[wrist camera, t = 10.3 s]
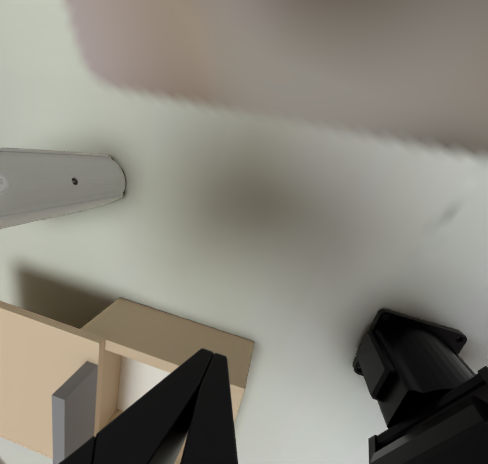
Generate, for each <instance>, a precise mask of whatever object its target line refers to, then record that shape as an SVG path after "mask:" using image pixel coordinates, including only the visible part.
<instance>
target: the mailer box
mask: <svg viewBox="0 0 488 464" xmlns="http://www.w3.org/2000/svg"><path fill="white" fill-rule="evenodd" d="M81 330H84V331H87V332H90V333H92V334H95V335H98V336H101V337H104V338H105V346H104V361H103V376H102V391H101V406H100V421H99V431H100V430H101V429H102V428H104V427H105V426H106V425H107V424H109V423H110V422H111V421H112V420H114V419H115V418H116V417H117V416H118V415H120V414H121V413H122V412H123V411H125V410H126V409H127V408H128V407H130V406H131V405H132V404H133V403H134V402H136V401H137V400H138V399H139V398H141V397H142V396H143V395H144V394H145V393H147V392H148V391H149V390H150V389H152V388H153V387H154V386H155V385H157V384H158V383H159V382H160V381H161V380H163V379H164V378H165V377H166V376H168V375H169V374H170V373H171V372H173V371H174V370H175V369H176V368H177V367H179V366H180V365H181V364H182V363H184V362H185V361H186V360H187V359H189V358H190V357H191V356H192V355H193V354H195V353H196V352H197V351H198V350H200V349H201V348H205V349H207V350H210V351H213V353H219V354H222V355H225V356H226V357H227V360H228V369H229V379H230V389H231V399H232V409H233V419H234V422H235V419H236V416H237V413H238V409H239V406H240V403H241V400H242V397H243V394H244V390H245V386H246V381H247V376H248V371H249V366H250V361H251V356H252V351H253V346H254V342H253V341H250V340H247V339H244V338H241V337H238V336H235V335H232V334H229V333H226V332H223V331H220V330H217V329H214V328H211V327H208V326H204V325H201V324H198V323H195V322H192V321H189V320H186V319H183V318H180V317H177V316H174V315H171V314H168V313H165V312H162V311H159V310H156V309H153V308H150V307H147V306H144V305H141V304H138V303H135V302H132V301H129V300H126V299H123V298H119V299H117V300H116V301H115V302H114V303H112V304H111V305H110V306H109V307H107V308H106V309H105V310H103V311H102V312H101V313H100V314H98V315H97V316H96V317H95V318H93V319H92V320H91V321H89V322H88V323H87V324H86V325H84V326H83V327H82V328H81ZM186 438H187V437H186ZM185 442H186V439H185V441H184V444H183V446H182V448H181V450H180V452H179V455H178V457H177V459H176V461H175V463H174V464H180V462H181V458H182V454H183V450H184V446H185Z"/></svg>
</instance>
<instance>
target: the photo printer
mask: <svg viewBox="0 0 488 464" xmlns="http://www.w3.org/2000/svg"><path fill="white" fill-rule="evenodd" d="M124 190H125V177H124V174H123V171H122V169H121V168H120V166H119V165H118V164H117V163H116V162H115V161H113V160H112V159H111V157H110V156H108V155H104V154H94V153H80V152H65V151H49V150H34V149H18V148H0V229H3V228H7V227H11V226H16V225H20V224H25V223H30V222H34V221H39V220H45V219H48V218H52V217H57V216H62V215H66V214H70V213H75V212H79V211H83V210H87V209H91V208H95V207H98V206H101V205H105V204H108V203H111V202H113V201H115V200H118V199H120V198H121V197H123V192H124Z"/></svg>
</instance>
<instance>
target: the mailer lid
mask: <svg viewBox="0 0 488 464" xmlns="http://www.w3.org/2000/svg"><path fill="white" fill-rule="evenodd" d="M104 346H105V338H104V337H101V336H98V335H95V334H92V333H90V332H87V331H84V330H81V329H78V328H75V327H73V326H70V325H67V324H64V323H61V322H58V321H56V320H53V319H50V318H47V317H44V316H42V315H39V314H36V313H33V312H30V311H27V310H25V309H22V308H19V307H16V306H13V305H11V304H8V303H5V302H2V301H0V437H3V438H5V439H7V440H10V441H12V442H14V443H17V444H19V445H21V446H24V447H26V448H28V449H31V450H33V451H35V452H38V453H40V454H43V455H45V456H47V457H50V458H52V459H53V464H58V463H60V462H61V461H62V460H64V459H65V458H66V457H67V456H69V455H70V454H71V453H73V452H74V451H75V450H76V449H78V448H79V447H80V446H81V445H83V444H84V443H85V442H86V441H87V440H89V439H90V438H91V437H92V436H95V437H96V434H97V433H98V432H99V421H100V406H101V391H102V376H103V361H104Z"/></svg>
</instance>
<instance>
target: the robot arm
mask: <svg viewBox="0 0 488 464" xmlns="http://www.w3.org/2000/svg"><path fill="white" fill-rule="evenodd" d="M384 315H388V316H387V317H383V316H384ZM457 337H459V338H458V339H456V338H457ZM466 341H467V337H466V336H465V335H464V334H463V333H462V332H460V331H457V330H454V329H451V328H447V327H444V326H441V325H437V324H434V323H430V322H427V321H424V320H420V319H417V318H414V317H410V316H407V315H404V314H400V313H397V312H394V311H390V310H387V309H382V310H380V311H379V312H378V314H377V316H376V318H375V320H374V322H373V324H372V326H371V328H370V330H369V331H367V332H366V334H365V336H364V338H363V341H362V343H361V345H360V347H359V349H358V351H357V353H356V355H357V357H356V359H355V361H354V363H353V368H354V371H355V373H357V374H359V375H362V376H364V378H365V381H366V384H367V387H368V390H369V392H370V395H371V396H372V398H373V399H375V400H377V401H378V404H379V406H380V409H381V412H382V414H383V417H384V420H385V422H386V425H387V427H388V430H386V431H384V432H383V433H381V434H379V435H378V436H377V435H374V436H372V437H371V438H369V464H488V367H487V366H485V367H483V368H482V369H480V370H478V374H477V375H476V374H475V373H474V372H473V371H472V370H471V369H470V368H469V367H468V365H467V364H466V363H465V362H464V361H463V360H462V359H461V357H460V356H459V355H458V354H459V352H460V351H461V349H462V348H463V346H464V344H465V343H466ZM359 367H361V368H359ZM186 437H187V438H186ZM185 439H186V442H185V446H184V450H183V454H182V458H181V462H180V464H238V458H237V448H236V438H235V429H234V419H233V409H232V399H231V389H230V379H229V369H228V360H227V357H226V356H225V355H222V354H219V353H213V351H210V350H207V349H205V348H201V349H200V350H198V351H197V352H196V353H195V354H193V355H192V356H191V357H190V358H189V359H187V360H186V361H185V362H184V363H182V364H181V365H180V366H179V367H177V368H176V369H175V370H174V371H173V372H171V373H170V374H169V375H168V376H166V377H165V378H164V379H163V380H161V381H160V382H159V383H158V384H157V385H155V386H154V387H153V388H152V389H150V390H149V391H148V392H147V393H145V394H144V395H143V396H142V397H141V398H139V399H138V400H137V401H136V402H134V403H133V404H132V405H131V406H130V407H128V408H127V409H126V410H125V411H123V412H122V413H121V414H120V415H118V416H117V417H116V418H115V419H114V420H112V421H111V422H110V423H109V424H107V425H106V426H105V427H104V428H102V429H101V430H100V431H99V432H98V433H97V434H96V437H95V436H92V437H91V438H90V439H89V440H87V441H86V442H85V443H84V444H83V445H81V446H80V447H79V448H78V449H76V450H75V451H74V452H73V453H71V454H70V455H69V456H67V457H66V458H65V459H64V460H62V461H61V462H60V463H58V464H174V463H175V461H176V459H177V457H178V455H179V452H180V450H181V448H182V446H183V444H184V441H185Z"/></svg>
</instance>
